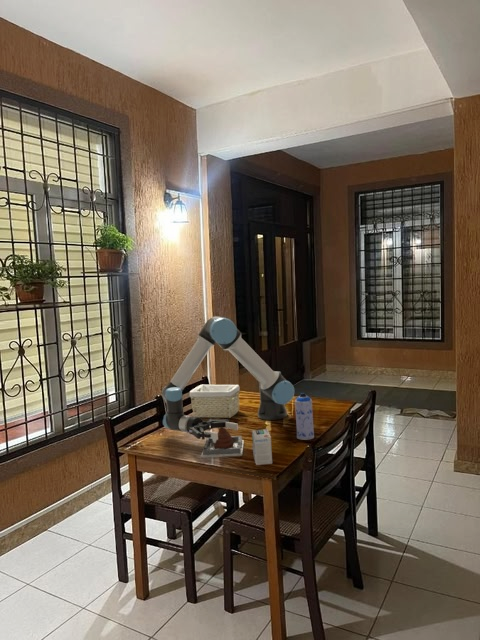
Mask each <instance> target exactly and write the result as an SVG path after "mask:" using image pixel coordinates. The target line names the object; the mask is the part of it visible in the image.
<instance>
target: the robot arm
mask: <svg viewBox="0 0 480 640" xmlns="http://www.w3.org/2000/svg"><path fill="white" fill-rule="evenodd" d="M216 344H217V345H218V346H219V347H220V348H221V349H222V350H223V351H228V352H229V353H230V354H231V355H232V356H233V357H234V358H235V359H236V360H237V361H239V363H240V364H241V365H242V366H243V367H244V368H245V369H246V370H247V371H248V372H249V373H250V375H252V376H253V377H254V379H255V380H256V381H258V386H259V406H258V410H257V417H258V419H260V420H264V421H275V420H276V421H277V420H282V419H284V418H286V417H288V411H287V408H286V406H285V405H286V404H288V403H290V402H291V401H292V400H293V398H294V395H295V387H294V385H293V384H292V382H290V381H289V380H287V379H286V378H285V377H284V375H282V372H281V371H275V370H273V369H272V368H271V367H270V366H269V365H268V363H266V362H265V360H264V359H262V358H261V357H260V356H259V354H257V352H255V350H254V349H253V348H252V347H251V346H250V345H249V344H248V343H247V342H246V341H245V340H244V339H243V338H242V332H241V331H240V329H238V328H237V326H236V325H235V322H234V321H232V320H231V319H230V318H228V317H223V316H219V315H214V316H212V317H210V318H209V319H207V320H206V321H205V324H203V327H202V329H201V330H200V332H199V333H198V335H197V340H196V341H195V343H194V344H193V346H192V348H191V349H190V350H189V352H188V354H187V355H186V357H185V358H184V359H183V361H182V363H181V365H180V366H179V368H178V369H177V370H176V372H175V373H174V375H173V376H172V378H171V379H170V382H169V383H168V384H167V385H165V386H164V387H163V389H162V391H161V397H162V398H163V400H164V402H165V404H166V413H165V414H164V415H163V419H162V425H163V426H164V428H166V429H169V430H171V431H178V432H182V433H186V434H190V435H193V436H194V437H195V439H197V440H200V439H201V440H206V439H207V438H210V439H215V440H218V432H214V431H208V430H213V429H217V428H219V429H220V427H223V428H225V429H228V430H229V429H230V430H233V431H238V430H239V424H238V422H237V423H235V422H230V420H229V419H228V418H227V419H226V418H225V419H207V420H202V417H194V415H193V416H192V415H189V414H188V415H186V414H185V413H184V404H183V403H184V402H183V396H184V395H183V393H182V392H183V391H184V389H185V388H186V386H187V385H188V383H189V382H190V380H191V378H192V377H193V375H194V374H195V372H196V371H197V369H198V368H199V366H200V365H201V363H202V362H203V360H204V359H205V357H206V356H207V354H208V353H209V351H210V350H211V348H212V347H215V345H216ZM205 438H206V439H205Z"/></svg>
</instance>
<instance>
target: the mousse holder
mask: <svg viewBox="0 0 480 640" xmlns="http://www.w3.org/2000/svg"><path fill="white" fill-rule="evenodd" d="M231 437H232V439H233V442H234V444H233V446H232V448H220V449H215V447H214V442H213V441H212V439H210V438H206V439H205V443H204V446H203V449H202V452H201V454H200V457H201V459H202V458H205V459H206V458H207V459H208V458H220V457H222V458H223V457H240V456H241V457H242V456H243V453H244V444H245V443H244V442H245V440H244V439H242V438H243V437H242V435H236V436H234V435H233V436H232V435H231Z"/></svg>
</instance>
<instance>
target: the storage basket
mask: <svg viewBox="0 0 480 640" xmlns="http://www.w3.org/2000/svg"><path fill="white" fill-rule="evenodd" d="M240 390H241V389H240V385H239V384H200V385H197V386H196V387H195V388H192V389H191V390H190V391H189V397H190V401H191V407H192V414H193V417H199V418H207V419H208V418H215V419H217V418H218V419H219V418H220V419H221V418H222V419H224V418H225V419H226V418H227V419H230V418H233V417H234V416H235V415H236V414H237V413H238V412H239V410H240Z"/></svg>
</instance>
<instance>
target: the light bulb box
mask: <svg viewBox="0 0 480 640" xmlns="http://www.w3.org/2000/svg"><path fill="white" fill-rule="evenodd" d="M251 437H252V438H251V439H252V454H253V460H254V462H255V465H256V466H261V465H270V464H271V465H272V464H273V453H272V437H271V434H270V432H269V430H268V428H265V429H255V430H254V429H253V430H251Z"/></svg>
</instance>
